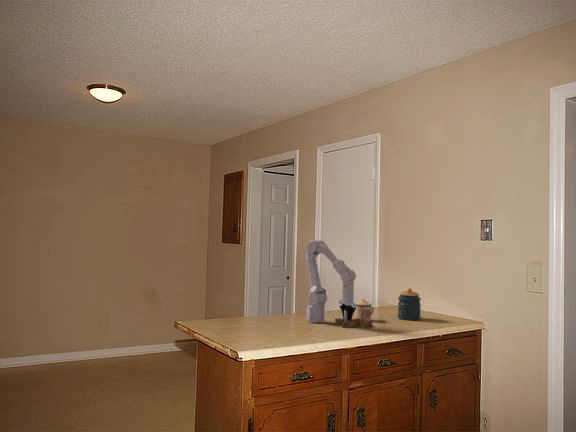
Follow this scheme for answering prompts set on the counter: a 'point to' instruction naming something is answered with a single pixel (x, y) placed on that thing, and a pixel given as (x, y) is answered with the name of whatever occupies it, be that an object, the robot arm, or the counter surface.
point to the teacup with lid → (363, 310)
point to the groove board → (354, 323)
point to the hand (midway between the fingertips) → (347, 319)
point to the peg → (345, 317)
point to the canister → (409, 305)
